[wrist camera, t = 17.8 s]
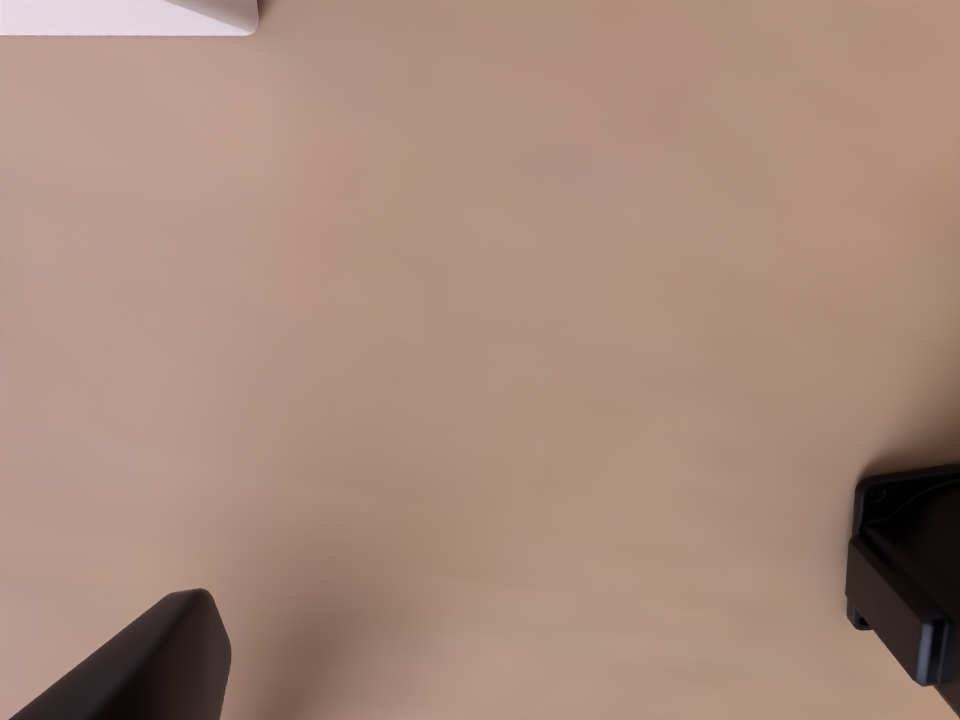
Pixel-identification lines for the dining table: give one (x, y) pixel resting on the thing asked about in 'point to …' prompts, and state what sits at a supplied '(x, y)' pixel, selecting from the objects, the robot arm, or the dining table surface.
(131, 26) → the medicine bottle
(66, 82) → the dining table surface
